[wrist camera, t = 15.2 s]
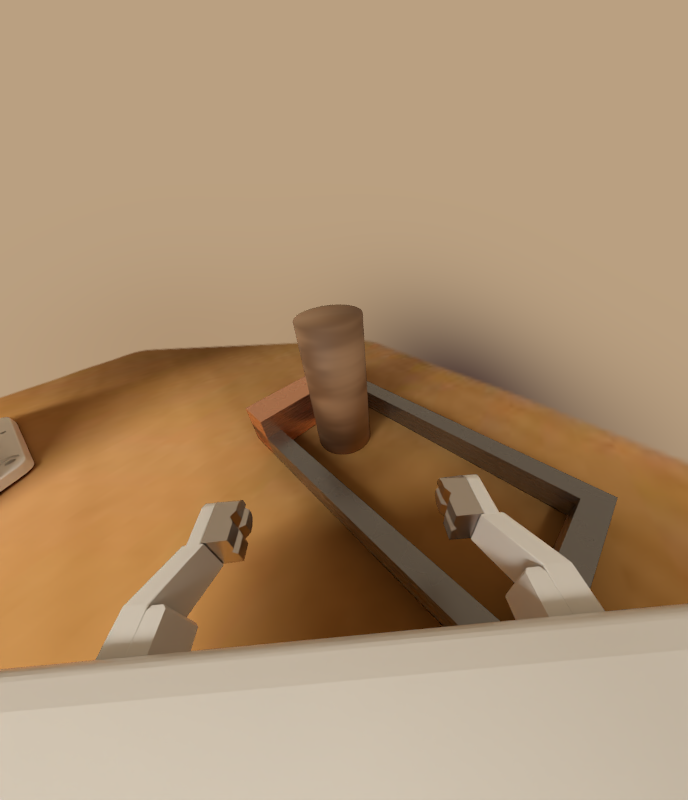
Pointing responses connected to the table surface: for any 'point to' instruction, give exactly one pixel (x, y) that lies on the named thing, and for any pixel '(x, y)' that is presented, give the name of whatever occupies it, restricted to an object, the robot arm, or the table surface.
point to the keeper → (335, 374)
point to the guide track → (417, 573)
